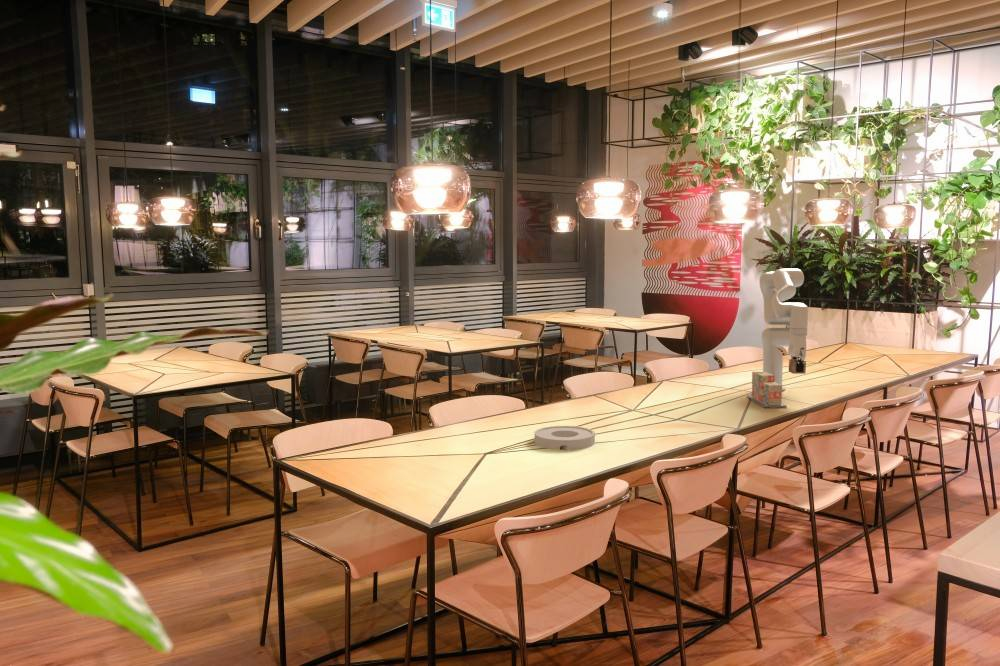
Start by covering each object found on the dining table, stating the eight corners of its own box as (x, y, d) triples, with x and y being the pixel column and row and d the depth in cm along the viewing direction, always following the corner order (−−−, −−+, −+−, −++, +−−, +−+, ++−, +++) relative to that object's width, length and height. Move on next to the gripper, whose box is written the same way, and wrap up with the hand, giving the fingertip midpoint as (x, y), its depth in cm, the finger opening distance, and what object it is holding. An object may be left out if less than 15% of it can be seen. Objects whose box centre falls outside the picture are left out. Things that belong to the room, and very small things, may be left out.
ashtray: (566, 432, 312) (566, 423, 312) (607, 443, 294) (607, 433, 293) (522, 442, 298) (522, 431, 298) (562, 454, 280) (562, 443, 279)
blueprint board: (747, 397, 376) (747, 395, 376) (767, 397, 376) (767, 395, 376) (764, 408, 351) (764, 405, 351) (786, 407, 351) (786, 405, 351)
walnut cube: (788, 371, 358) (789, 359, 357) (800, 371, 358) (801, 359, 357) (793, 373, 353) (793, 361, 352) (805, 373, 353) (805, 361, 352)
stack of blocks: (781, 405, 352) (782, 378, 350) (768, 405, 352) (768, 378, 350) (764, 396, 373) (764, 371, 372) (751, 396, 373) (751, 371, 371)
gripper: (783, 329, 361) (782, 367, 364) (797, 334, 344) (796, 374, 347) (799, 329, 361) (797, 367, 364) (814, 334, 344) (812, 374, 347)
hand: (797, 370), depth 355 cm, fingers closed on walnut cube, 5 cm apart
